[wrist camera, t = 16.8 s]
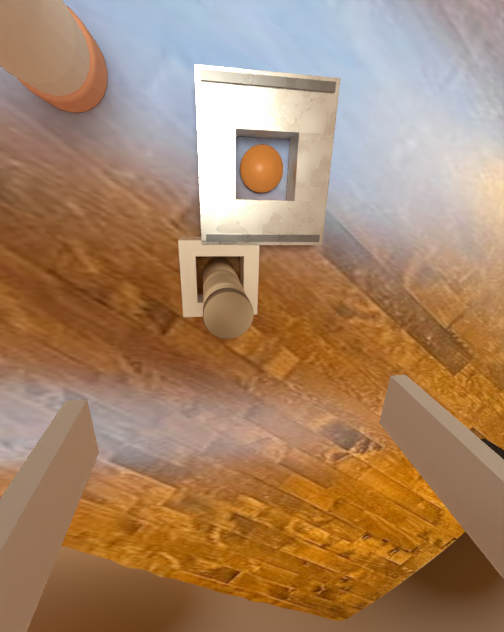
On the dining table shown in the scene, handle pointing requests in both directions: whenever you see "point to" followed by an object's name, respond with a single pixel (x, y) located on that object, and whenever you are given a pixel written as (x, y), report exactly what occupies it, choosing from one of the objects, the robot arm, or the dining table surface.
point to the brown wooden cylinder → (224, 300)
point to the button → (261, 168)
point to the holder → (194, 247)
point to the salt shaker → (52, 53)
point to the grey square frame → (269, 122)
